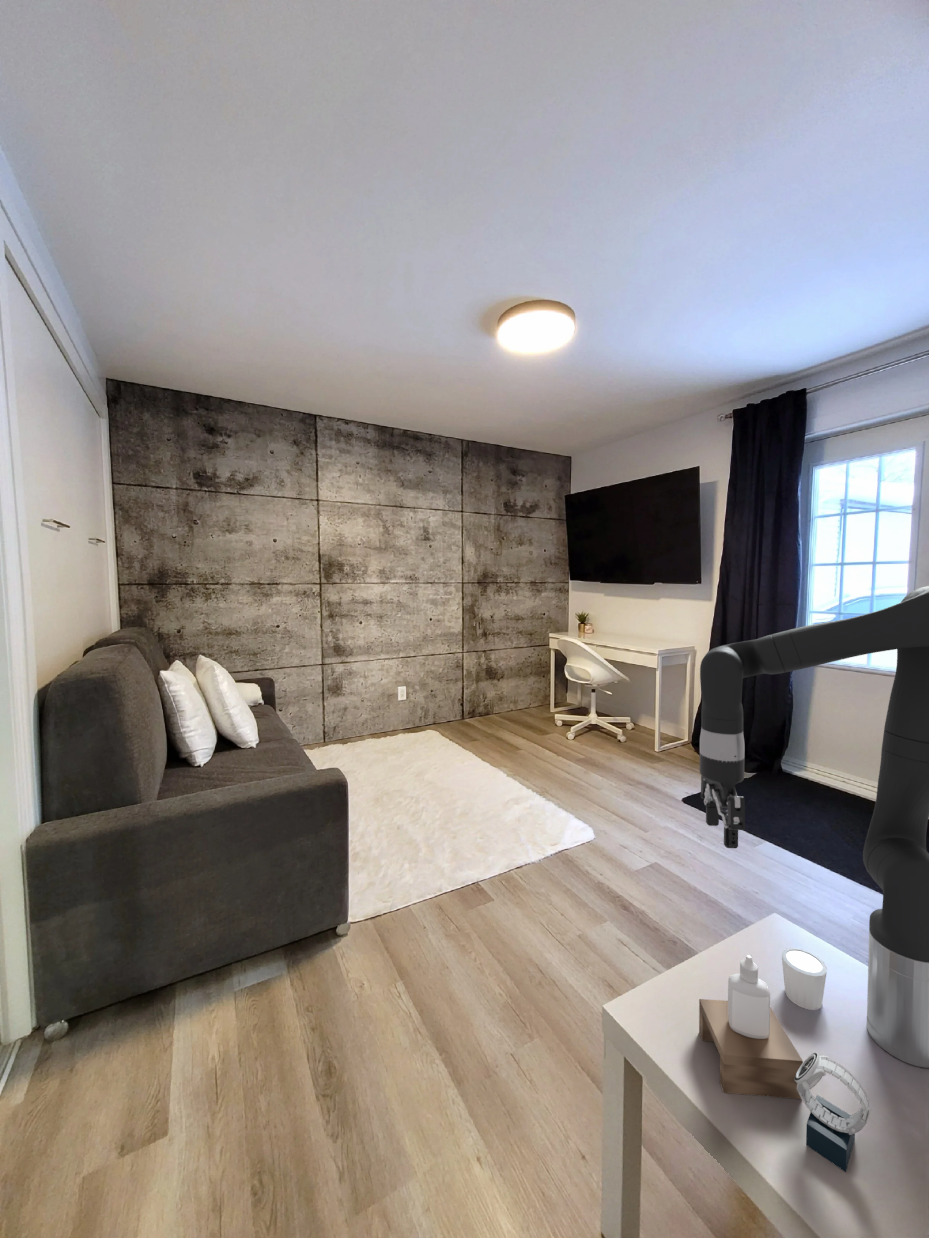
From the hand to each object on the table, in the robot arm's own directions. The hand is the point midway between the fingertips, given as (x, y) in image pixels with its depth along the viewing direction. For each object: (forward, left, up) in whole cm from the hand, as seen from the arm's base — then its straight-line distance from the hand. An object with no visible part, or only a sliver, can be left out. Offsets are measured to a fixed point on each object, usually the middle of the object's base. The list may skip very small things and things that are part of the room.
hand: (721, 835), depth 93 cm
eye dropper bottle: (+3, +18, -22) cm, 29 cm away
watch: (-3, +29, -28) cm, 40 cm away
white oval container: (-13, +4, -28) cm, 31 cm away
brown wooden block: (+3, +18, -28) cm, 34 cm away
